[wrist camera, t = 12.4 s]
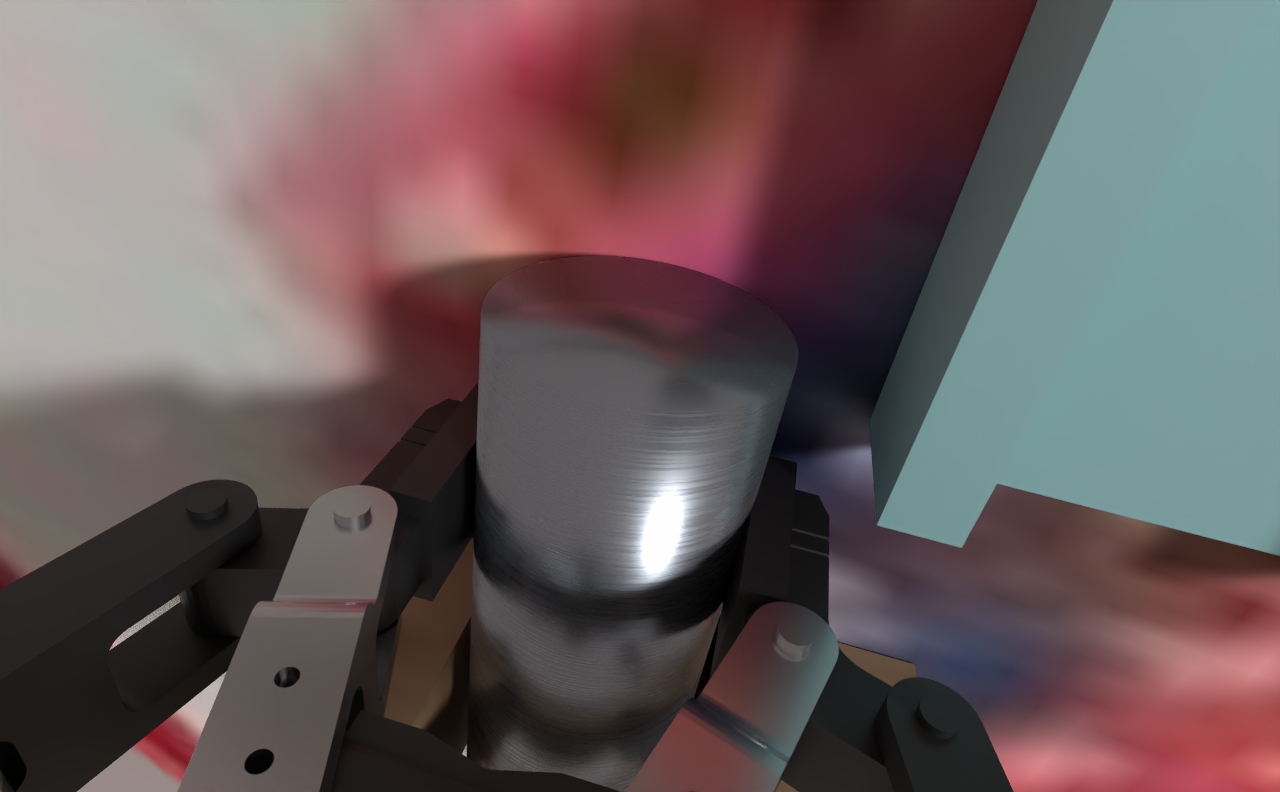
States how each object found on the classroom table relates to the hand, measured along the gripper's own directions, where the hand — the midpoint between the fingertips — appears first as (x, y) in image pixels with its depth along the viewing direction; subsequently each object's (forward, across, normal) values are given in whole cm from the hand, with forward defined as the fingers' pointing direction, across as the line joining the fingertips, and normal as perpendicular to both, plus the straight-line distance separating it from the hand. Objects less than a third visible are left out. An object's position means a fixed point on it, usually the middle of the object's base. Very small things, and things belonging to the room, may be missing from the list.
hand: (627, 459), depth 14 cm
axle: (+1, 0, +3) cm, 3 cm away
